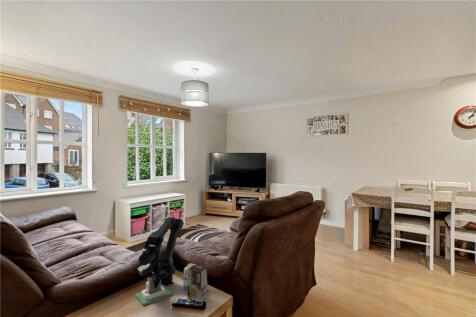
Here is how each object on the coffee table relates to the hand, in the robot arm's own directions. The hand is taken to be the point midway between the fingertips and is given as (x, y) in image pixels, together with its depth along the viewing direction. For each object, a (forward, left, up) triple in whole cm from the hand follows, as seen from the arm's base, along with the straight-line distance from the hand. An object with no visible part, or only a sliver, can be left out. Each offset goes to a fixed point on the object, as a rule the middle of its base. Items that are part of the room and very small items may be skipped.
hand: (154, 286), depth 133 cm
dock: (0, 0, -5) cm, 5 cm away
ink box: (-20, +4, -5) cm, 21 cm away
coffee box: (-17, +17, -5) cm, 25 cm away
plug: (0, 0, -3) cm, 3 cm away
